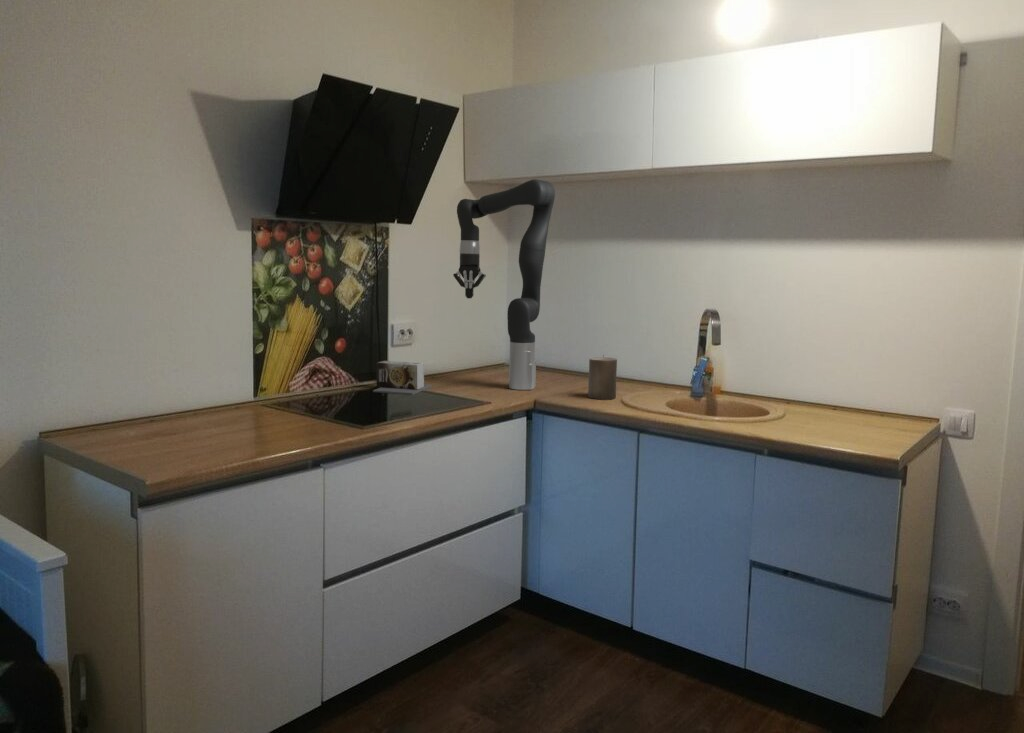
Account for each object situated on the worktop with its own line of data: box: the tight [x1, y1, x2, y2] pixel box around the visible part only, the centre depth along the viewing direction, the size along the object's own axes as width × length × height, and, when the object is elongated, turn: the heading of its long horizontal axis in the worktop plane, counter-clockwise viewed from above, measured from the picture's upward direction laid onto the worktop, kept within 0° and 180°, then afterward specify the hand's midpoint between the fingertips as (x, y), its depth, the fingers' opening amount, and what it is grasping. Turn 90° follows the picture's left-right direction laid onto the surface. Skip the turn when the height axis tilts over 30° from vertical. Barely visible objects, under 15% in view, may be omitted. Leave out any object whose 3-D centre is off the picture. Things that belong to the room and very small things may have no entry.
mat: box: [372, 384, 432, 396], centre depth 272 cm, size 15×18×1 cm
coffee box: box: [375, 360, 425, 390], centre depth 273 cm, size 9×6×16 cm
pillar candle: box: [587, 354, 618, 401], centre depth 263 cm, size 10×10×15 cm
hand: (469, 298), depth 291 cm, fingers closed
